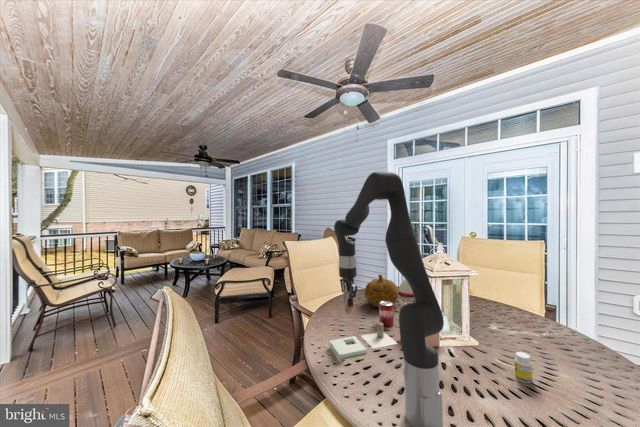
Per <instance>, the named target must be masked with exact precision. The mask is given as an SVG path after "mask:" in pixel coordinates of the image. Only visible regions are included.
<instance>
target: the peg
mask: <svg viewBox="0 0 640 427" xmlns="http://www.w3.org/2000/svg"><path fill="white" fill-rule="evenodd" d="M348 291H350V290H348ZM349 294H350V293H349ZM344 309H345V310H344V312H345V314H353V311H354V310H353V307H348V297H347V293H346V288H345V303H344Z"/></svg>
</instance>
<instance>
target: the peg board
mask: <svg viewBox="0 0 640 427" xmlns="http://www.w3.org/2000/svg"><path fill="white" fill-rule="evenodd" d="M349 343H353V344H349ZM329 348H330V350H331V352H332V354H334V356H335V358H336V359H337V360H338V362H339V363H344V362H346V360H345V359H346V358H349V357H351V358H352V357H354V356H355V357H356V356H360V355H364V354H367V353H368V349H367V348H366V346H364V344H363V343H362V342H361V341H360V340H359V339H358V338H357V337H356V336H355V335H353V336H348V337H343V338H336V339H332V340H329Z"/></svg>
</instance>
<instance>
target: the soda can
mask: <svg viewBox="0 0 640 427" xmlns="http://www.w3.org/2000/svg"><path fill="white" fill-rule="evenodd" d="M394 308H395V307H394V305H393V303H392V302H389V301H381V302H380V303H379V307H378V322H381V323H383V328H384V327H385V328H390V327H394V326H395V317H394V316H395V314H394V313H395V312H394V310H395V309H394Z"/></svg>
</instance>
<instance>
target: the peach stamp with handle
mask: <svg viewBox="0 0 640 427" xmlns="http://www.w3.org/2000/svg"><path fill="white" fill-rule="evenodd" d="M425 343H426V344H428V345H430V346H432V347H433V348H435V347H440V332H439V333H437V334H434V335H431V336H427V337H425Z"/></svg>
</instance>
